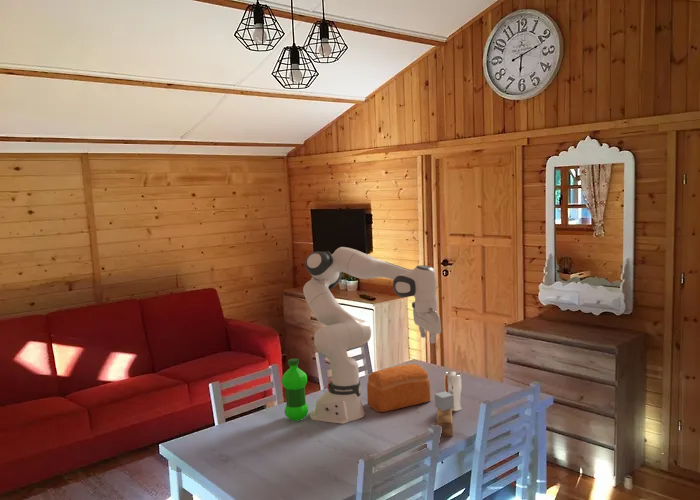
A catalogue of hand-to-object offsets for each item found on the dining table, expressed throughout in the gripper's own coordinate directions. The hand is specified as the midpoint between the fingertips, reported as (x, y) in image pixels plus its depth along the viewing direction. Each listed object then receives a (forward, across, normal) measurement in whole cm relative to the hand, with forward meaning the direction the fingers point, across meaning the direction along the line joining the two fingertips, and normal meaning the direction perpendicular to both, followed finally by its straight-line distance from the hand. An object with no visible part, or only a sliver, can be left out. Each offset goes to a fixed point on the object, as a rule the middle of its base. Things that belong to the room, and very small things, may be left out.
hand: (427, 339), depth 239 cm
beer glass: (+31, +2, -11) cm, 33 cm away
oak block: (+26, -18, +2) cm, 32 cm away
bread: (+31, +17, +7) cm, 37 cm away
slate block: (+21, -18, +2) cm, 28 cm away
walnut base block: (+31, -18, +2) cm, 36 cm away
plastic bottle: (+31, +17, +52) cm, 63 cm away
